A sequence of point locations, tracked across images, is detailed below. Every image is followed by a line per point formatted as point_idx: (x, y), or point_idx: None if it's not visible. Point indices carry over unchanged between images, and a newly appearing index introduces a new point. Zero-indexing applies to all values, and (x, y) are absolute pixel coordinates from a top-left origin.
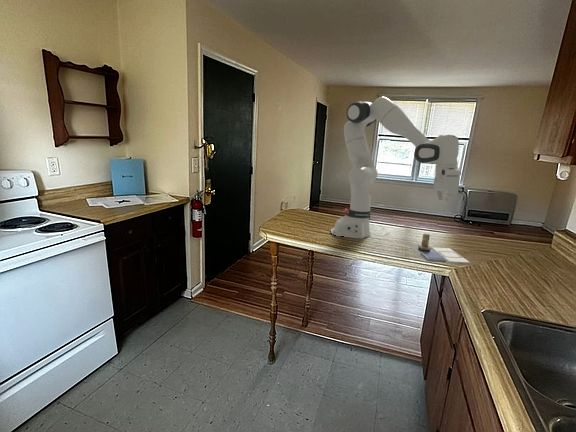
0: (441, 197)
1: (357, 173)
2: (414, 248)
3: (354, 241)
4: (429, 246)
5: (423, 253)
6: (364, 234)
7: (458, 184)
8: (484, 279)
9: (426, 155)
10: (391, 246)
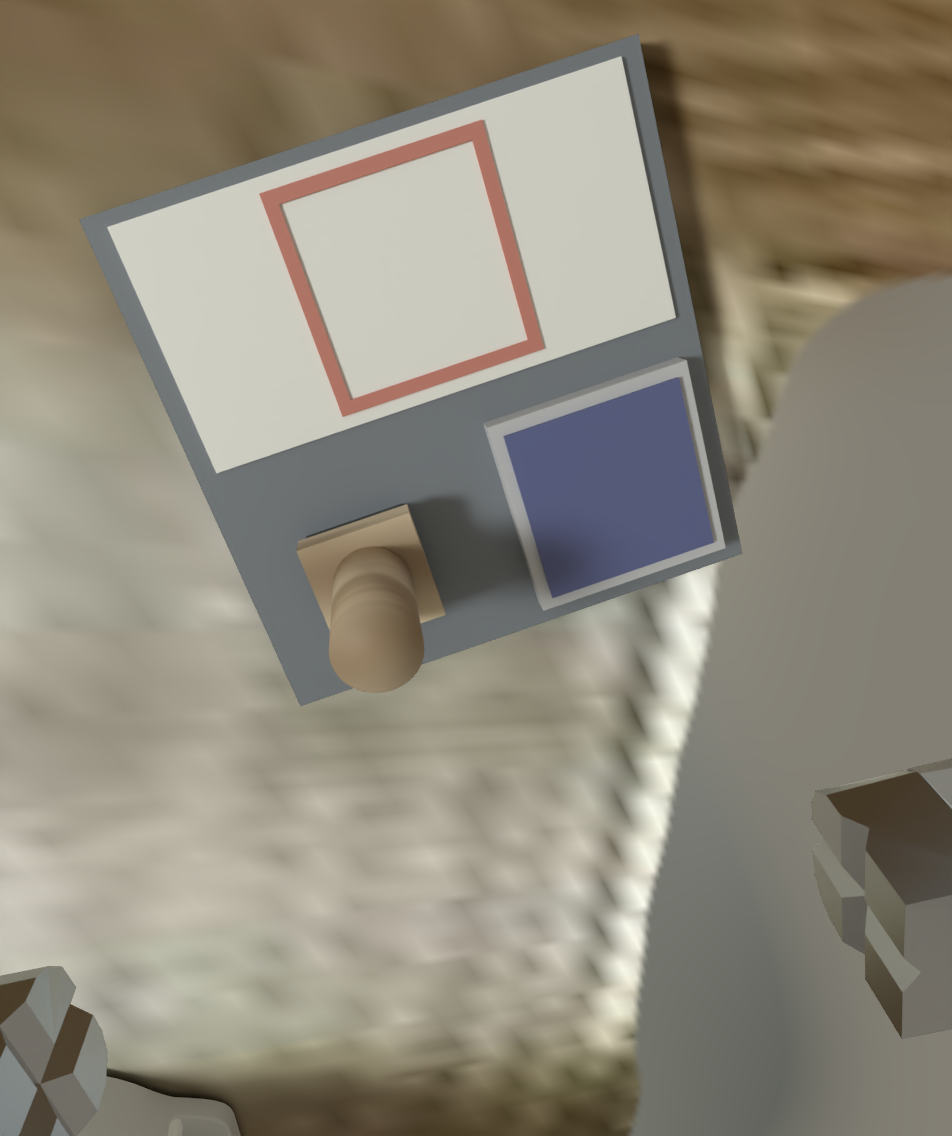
0: (25, 1092)
1: None
2: None
3: (347, 1126)
4: (370, 530)
5: (583, 587)
6: (163, 1129)
7: None
8: None
9: None
10: (319, 852)
